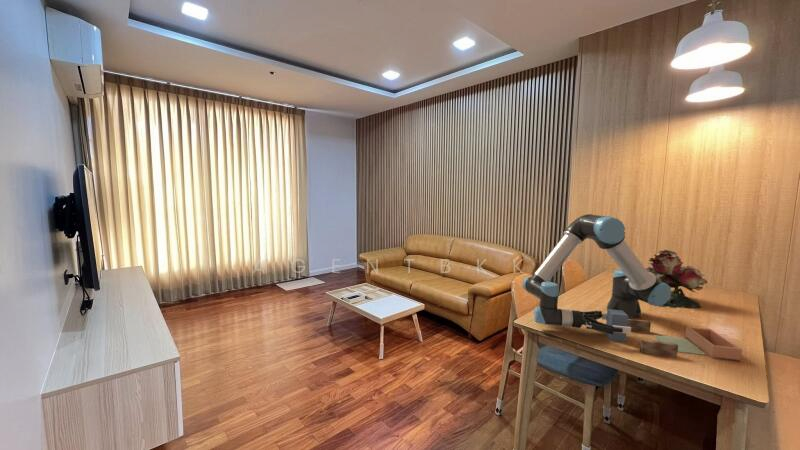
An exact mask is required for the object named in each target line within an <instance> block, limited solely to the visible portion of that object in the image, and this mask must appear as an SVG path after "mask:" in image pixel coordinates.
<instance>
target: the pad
mask: <svg viewBox="0 0 800 450" xmlns="http://www.w3.org/2000/svg"><path fill="white" fill-rule="evenodd" d="M653 337H654V338H655V339H657V341H658V342H666V343H675V344H677V345H678V352H677V353H682V354H683V353H684V354H693V355H701V356H706V355H707V354H706V353H705V352H703V351H702V350H701V349H699V348H698V347H697V346H696V345H694V344H693V343H692V342H690V341H689V340H688V339H687V338H684V337H683V338H682V337H678V336H677V337H673V336H667V335H666V336H665V335H657V334H653Z"/></svg>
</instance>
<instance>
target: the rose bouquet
mask: <svg viewBox="0 0 800 450" xmlns="http://www.w3.org/2000/svg"><path fill="white" fill-rule="evenodd" d="M648 264H649V266H648V267H647V268H645V269H646V270H647V271H648V272H651V273H653V274H654V275H655V276H656V277H657V278H658V280H659V281H660V282H662V283H666V284H668V285H669V286H670V288H672V290H671V295H670V298H669V300H668V301H667V302H666V303H665V304H663V305H661V306H659V307H662V308H668V307H669V308H673V309H674V308H681V309H682V308H697V307H700V308H701V307H702V306H701V303H700V302H699V301H697V300H696V299H692V298H690V297H689V296H687V295H686V294H685V293H684V290H683V289H682V288H685V289H687V290H689V291H690V292H692V293H697V294H699V292H697V291H700V290H703V288H704V287H703V286H704V285H705V284H709V283H708V281H707V279H706V278H703V277H705V276H706V275H705V274H703V273H702V272H701V271H700V269H698V268H696V267H694V266H690V265H687V266H683V264H684V262H683V261H682V258H681V257H679V256H678V252H676V251H674V250H670V249H663V250H658V253H657V254H654V257H650V258H649V260H648ZM679 287H680V288H679ZM694 290H696V291H694Z"/></svg>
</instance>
